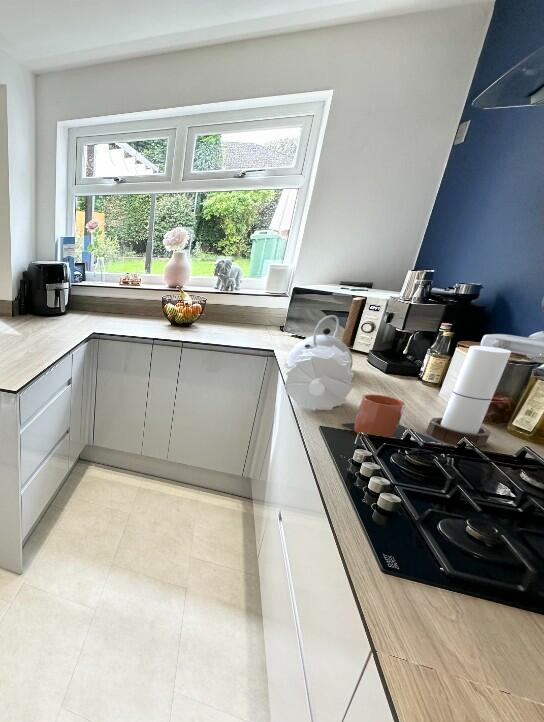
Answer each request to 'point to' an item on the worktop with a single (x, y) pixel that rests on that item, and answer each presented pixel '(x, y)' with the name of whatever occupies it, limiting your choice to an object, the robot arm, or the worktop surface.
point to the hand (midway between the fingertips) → (518, 350)
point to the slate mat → (398, 432)
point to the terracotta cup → (378, 415)
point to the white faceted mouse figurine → (320, 378)
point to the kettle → (319, 343)
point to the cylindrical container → (475, 388)
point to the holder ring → (456, 433)
